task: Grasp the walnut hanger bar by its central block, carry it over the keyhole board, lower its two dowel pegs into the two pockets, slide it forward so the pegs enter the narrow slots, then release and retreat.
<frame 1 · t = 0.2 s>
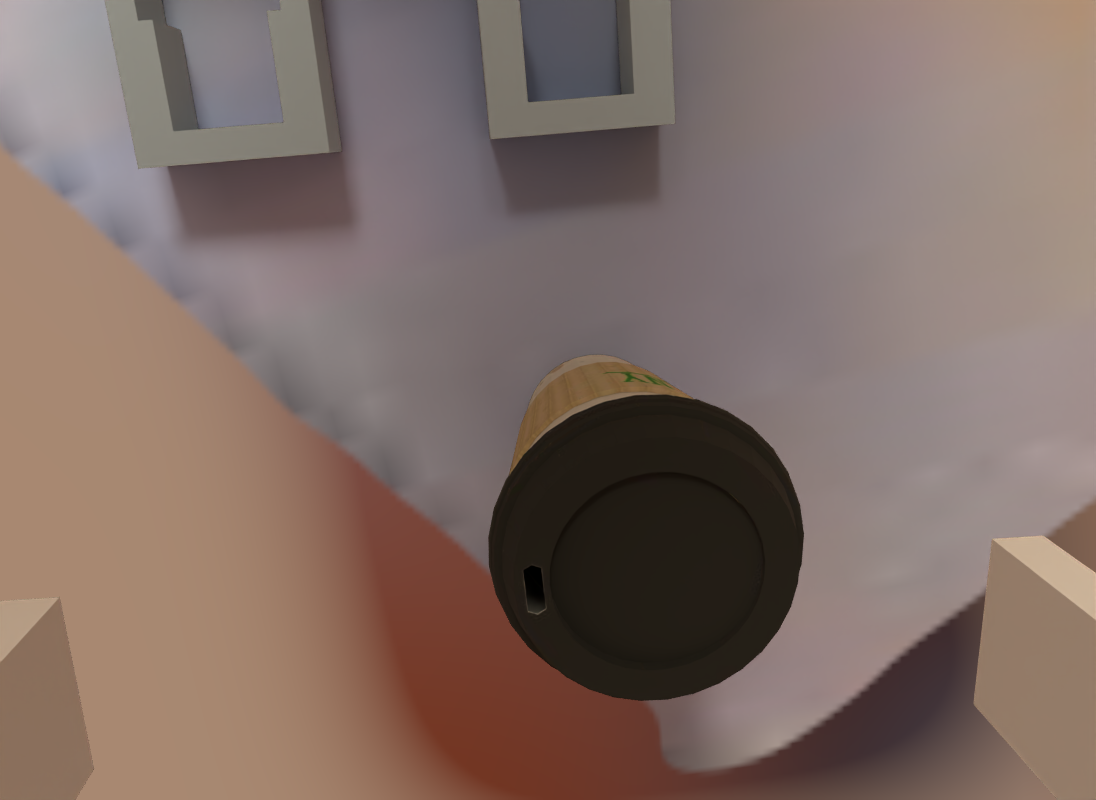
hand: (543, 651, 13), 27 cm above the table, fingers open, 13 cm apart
coffee cup: (594, 420, 41), on the table
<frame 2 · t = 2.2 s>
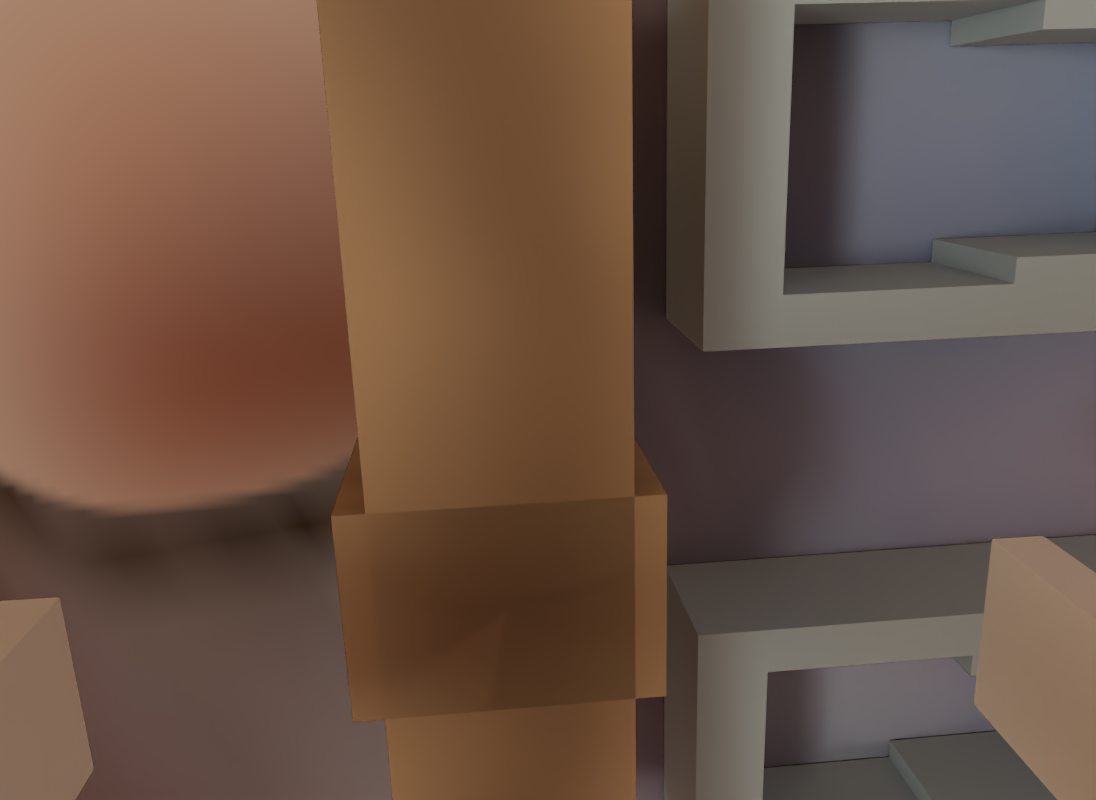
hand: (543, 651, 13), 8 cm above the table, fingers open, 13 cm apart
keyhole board: (896, 433, 22), on the table
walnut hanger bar: (491, 457, 21), on the table
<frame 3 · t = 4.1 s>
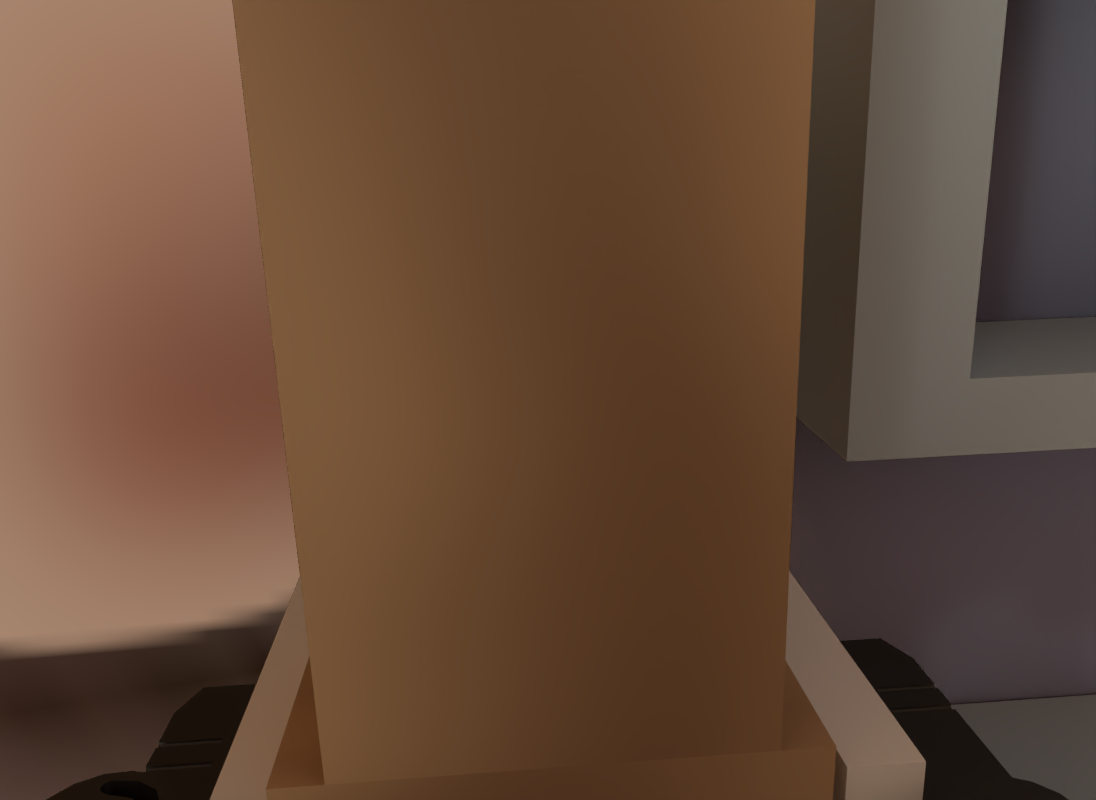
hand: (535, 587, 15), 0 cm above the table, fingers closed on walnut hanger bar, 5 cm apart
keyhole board: (1077, 545, 16), on the table
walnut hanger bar: (525, 578, 15), on the table, touching gripper
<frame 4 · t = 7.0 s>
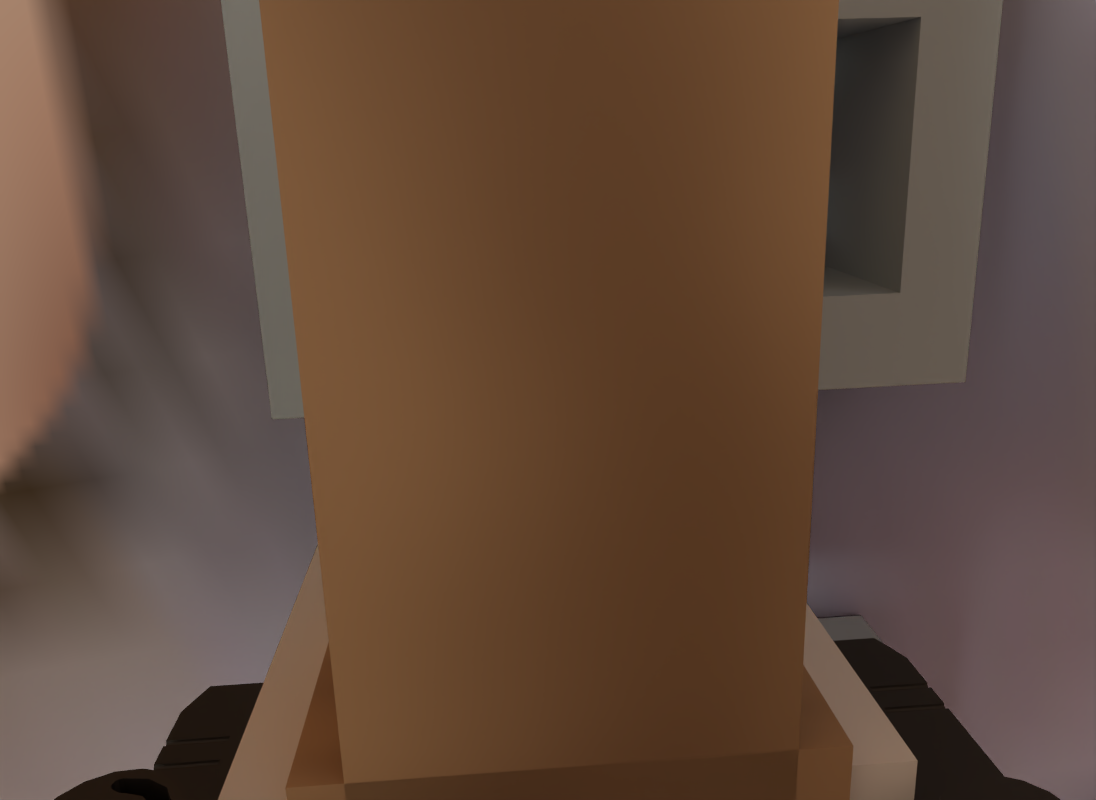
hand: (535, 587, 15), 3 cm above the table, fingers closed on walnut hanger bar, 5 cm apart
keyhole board: (602, 500, 18), on the table
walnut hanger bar: (534, 578, 15), point 3 cm above the table, touching gripper
when the fingers open (1 cm above the table, at t = 9.6 s): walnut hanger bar drops 1 cm, on the table.
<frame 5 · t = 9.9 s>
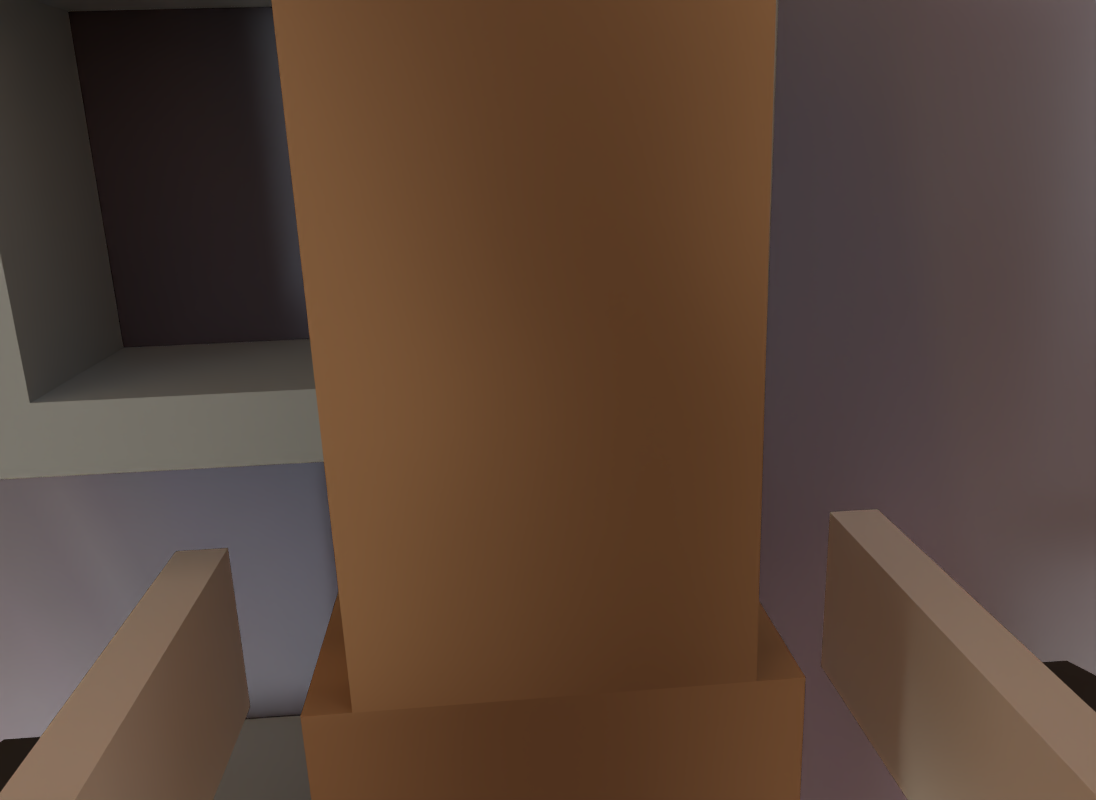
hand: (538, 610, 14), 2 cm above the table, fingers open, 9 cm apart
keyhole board: (394, 559, 16), on the table
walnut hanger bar: (527, 550, 16), on the table
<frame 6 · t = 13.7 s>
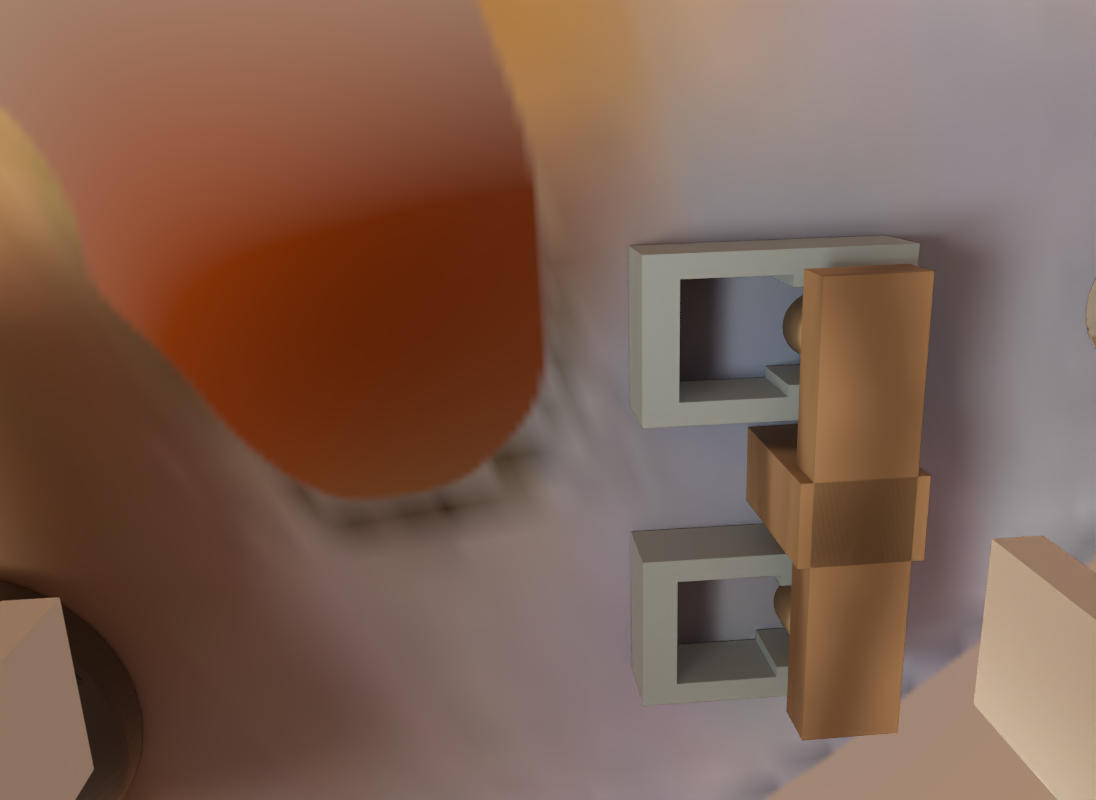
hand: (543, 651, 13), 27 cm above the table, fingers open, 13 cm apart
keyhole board: (750, 463, 41), on the table
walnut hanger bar: (801, 460, 42), on the table
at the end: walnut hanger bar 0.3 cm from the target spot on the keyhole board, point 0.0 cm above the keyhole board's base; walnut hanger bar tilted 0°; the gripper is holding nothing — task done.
